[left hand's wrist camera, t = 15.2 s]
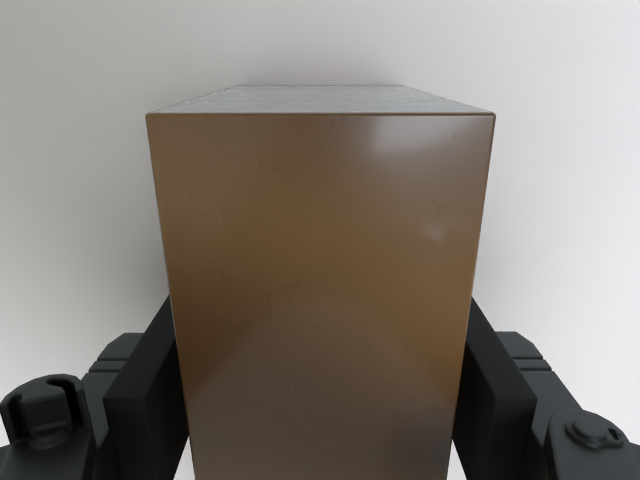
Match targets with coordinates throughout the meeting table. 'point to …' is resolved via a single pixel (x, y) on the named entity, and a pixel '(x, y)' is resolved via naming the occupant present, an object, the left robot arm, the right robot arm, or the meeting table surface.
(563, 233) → the meeting table surface
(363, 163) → the beam
